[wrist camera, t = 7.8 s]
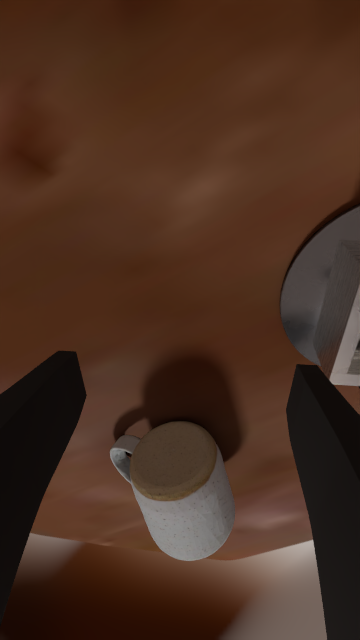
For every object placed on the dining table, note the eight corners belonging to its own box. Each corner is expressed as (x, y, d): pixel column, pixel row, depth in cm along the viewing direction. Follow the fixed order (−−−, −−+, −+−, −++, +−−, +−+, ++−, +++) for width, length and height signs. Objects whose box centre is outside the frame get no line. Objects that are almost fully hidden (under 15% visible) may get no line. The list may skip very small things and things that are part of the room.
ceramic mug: (219, 410, 26) (215, 507, 20) (235, 470, 31) (236, 565, 24) (101, 418, 29) (65, 507, 23) (130, 472, 33) (107, 560, 27)
